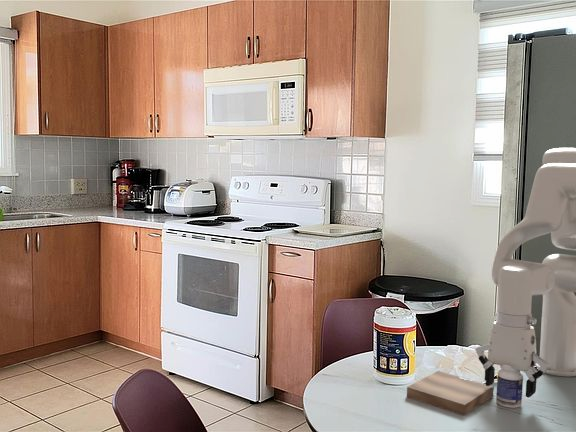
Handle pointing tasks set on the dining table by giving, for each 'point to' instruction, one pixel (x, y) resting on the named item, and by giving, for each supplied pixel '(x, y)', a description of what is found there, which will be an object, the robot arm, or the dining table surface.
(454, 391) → the walnut board
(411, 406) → the dining table surface
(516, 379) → the pill bottle
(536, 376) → the robot arm
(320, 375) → the dining table surface
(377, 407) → the dining table surface
